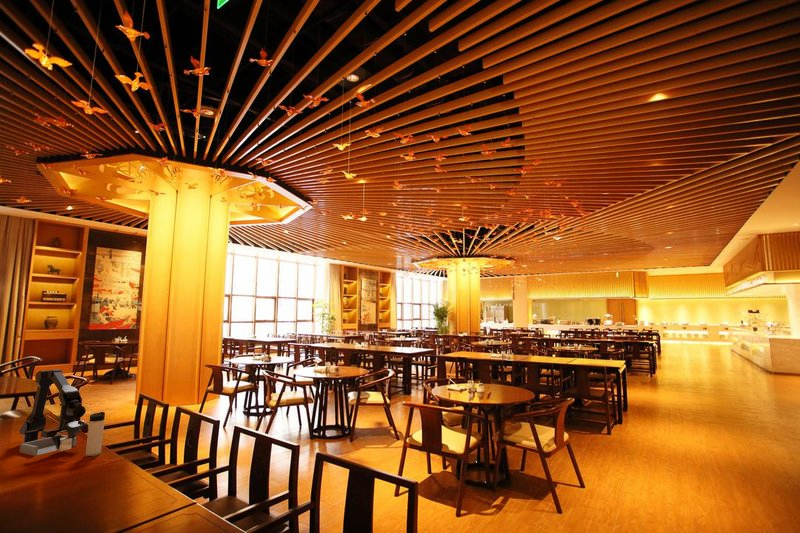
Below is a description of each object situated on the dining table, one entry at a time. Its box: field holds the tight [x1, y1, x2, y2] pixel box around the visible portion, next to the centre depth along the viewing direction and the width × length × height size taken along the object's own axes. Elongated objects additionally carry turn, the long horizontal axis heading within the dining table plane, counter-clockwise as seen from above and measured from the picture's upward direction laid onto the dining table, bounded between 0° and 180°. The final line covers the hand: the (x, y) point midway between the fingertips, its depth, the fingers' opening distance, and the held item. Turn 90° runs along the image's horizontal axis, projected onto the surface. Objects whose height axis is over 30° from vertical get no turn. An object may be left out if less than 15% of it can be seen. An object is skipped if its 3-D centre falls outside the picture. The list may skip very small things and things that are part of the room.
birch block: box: [56, 437, 72, 452], centre depth 208 cm, size 4×4×5 cm
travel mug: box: [85, 411, 106, 457], centre depth 207 cm, size 6×7×20 cm
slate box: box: [19, 434, 77, 457], centre depth 212 cm, size 13×18×4 cm
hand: (63, 447), depth 208 cm, fingers closed on birch block, 4 cm apart
